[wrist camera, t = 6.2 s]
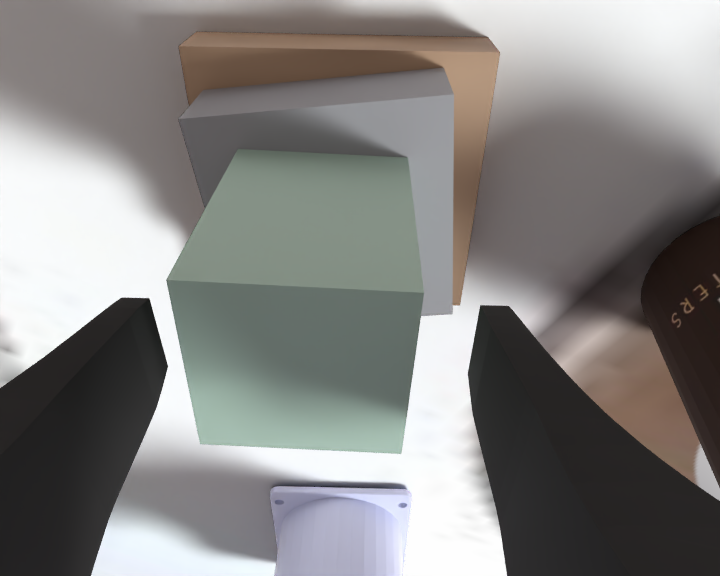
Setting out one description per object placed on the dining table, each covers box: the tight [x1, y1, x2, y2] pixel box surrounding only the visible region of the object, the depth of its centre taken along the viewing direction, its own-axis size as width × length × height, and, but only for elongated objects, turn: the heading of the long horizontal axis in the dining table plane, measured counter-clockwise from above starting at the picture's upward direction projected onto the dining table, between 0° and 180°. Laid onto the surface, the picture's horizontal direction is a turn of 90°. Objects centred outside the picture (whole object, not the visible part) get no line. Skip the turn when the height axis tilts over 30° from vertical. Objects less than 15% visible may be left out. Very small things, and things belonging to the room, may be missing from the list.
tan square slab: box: [179, 32, 500, 305], centre depth 19 cm, size 9×9×2 cm
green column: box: [166, 149, 424, 454], centre depth 13 cm, size 4×4×6 cm
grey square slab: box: [178, 67, 454, 316], centre depth 17 cm, size 7×7×2 cm
